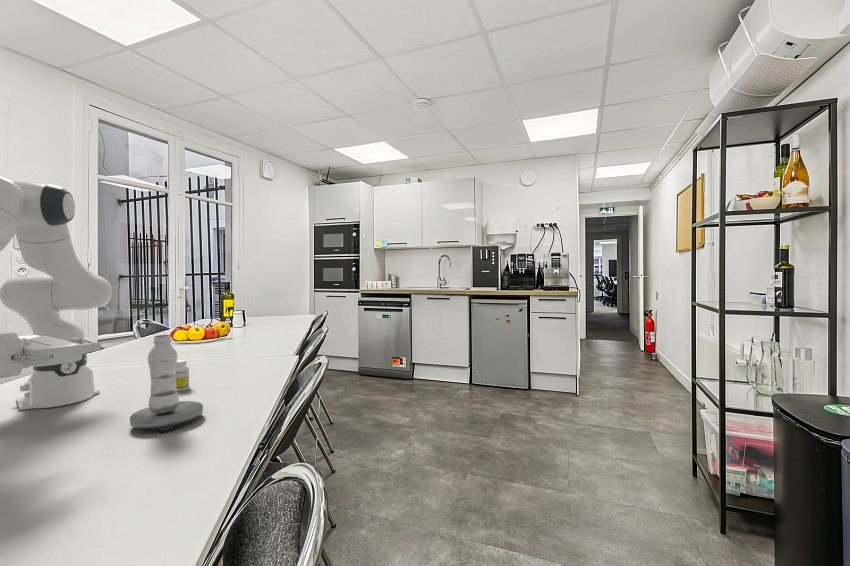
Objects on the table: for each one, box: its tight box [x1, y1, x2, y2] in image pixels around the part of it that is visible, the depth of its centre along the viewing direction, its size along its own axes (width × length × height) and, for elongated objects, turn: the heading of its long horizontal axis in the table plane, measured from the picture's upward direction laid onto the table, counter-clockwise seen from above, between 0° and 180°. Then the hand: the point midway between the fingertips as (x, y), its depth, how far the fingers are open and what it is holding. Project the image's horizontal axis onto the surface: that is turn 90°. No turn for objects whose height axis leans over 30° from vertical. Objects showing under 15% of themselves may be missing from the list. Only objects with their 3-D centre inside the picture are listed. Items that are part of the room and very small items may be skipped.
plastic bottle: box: [147, 334, 180, 414], centre depth 101 cm, size 6×7×20 cm
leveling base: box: [129, 400, 204, 434], centre depth 102 cm, size 16×16×3 cm
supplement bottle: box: [175, 359, 190, 392], centre depth 132 cm, size 5×5×10 cm
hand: (90, 343), depth 90 cm, fingers open, 8 cm apart
